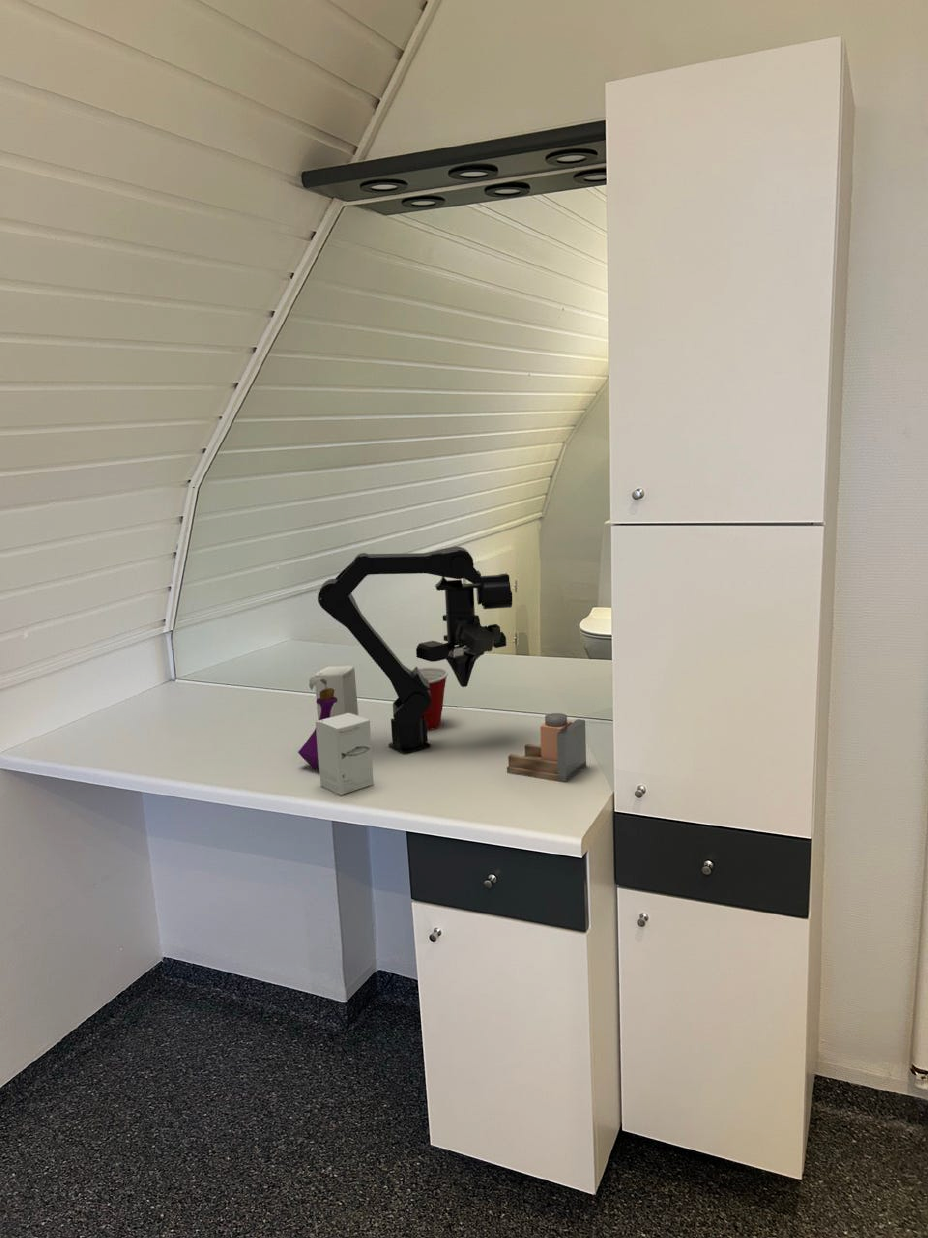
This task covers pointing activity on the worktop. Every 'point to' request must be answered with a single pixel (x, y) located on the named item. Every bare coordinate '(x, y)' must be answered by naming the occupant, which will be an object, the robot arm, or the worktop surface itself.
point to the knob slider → (552, 734)
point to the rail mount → (568, 752)
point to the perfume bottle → (326, 703)
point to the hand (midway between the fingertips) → (463, 686)
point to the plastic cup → (434, 694)
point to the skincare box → (339, 689)
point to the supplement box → (344, 753)
